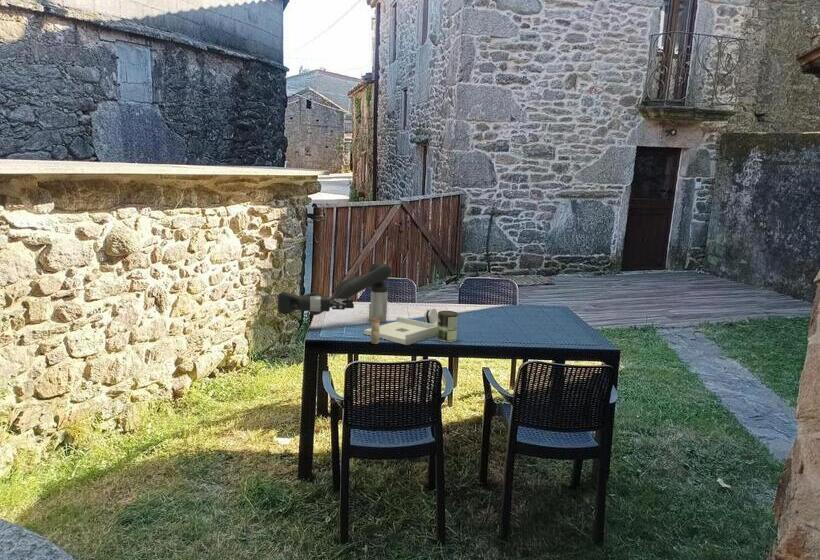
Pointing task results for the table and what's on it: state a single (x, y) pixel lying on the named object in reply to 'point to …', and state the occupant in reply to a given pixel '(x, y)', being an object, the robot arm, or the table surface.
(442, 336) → the coffee can
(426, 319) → the hinge
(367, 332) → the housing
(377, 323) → the gear shaft
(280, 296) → the robot arm
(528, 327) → the table surface
